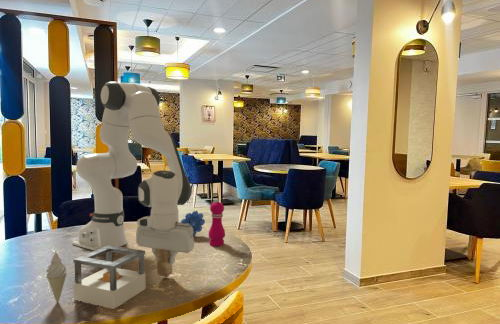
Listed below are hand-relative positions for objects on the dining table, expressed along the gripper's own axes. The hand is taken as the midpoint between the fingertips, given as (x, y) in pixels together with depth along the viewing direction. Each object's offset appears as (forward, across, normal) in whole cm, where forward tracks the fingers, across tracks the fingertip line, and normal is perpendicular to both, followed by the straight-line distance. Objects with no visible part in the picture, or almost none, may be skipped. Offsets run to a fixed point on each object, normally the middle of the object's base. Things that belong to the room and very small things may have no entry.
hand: (164, 262), depth 120 cm
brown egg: (+4, +8, +16) cm, 18 cm away
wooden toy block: (+4, 0, 0) cm, 4 cm away
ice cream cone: (+6, +18, +26) cm, 32 cm away
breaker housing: (+6, +8, +16) cm, 19 cm away
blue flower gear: (+6, +16, -47) cm, 50 cm away
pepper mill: (+6, 0, -40) cm, 40 cm away
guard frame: (+1, +8, +16) cm, 18 cm away
